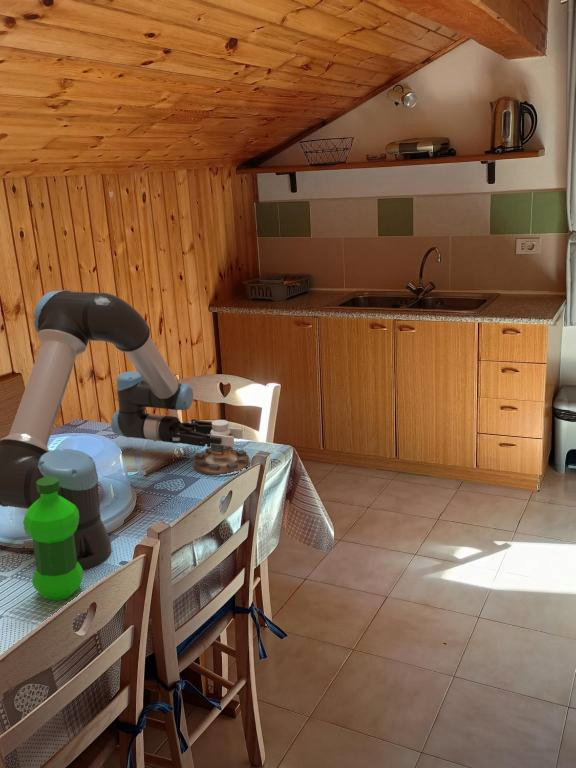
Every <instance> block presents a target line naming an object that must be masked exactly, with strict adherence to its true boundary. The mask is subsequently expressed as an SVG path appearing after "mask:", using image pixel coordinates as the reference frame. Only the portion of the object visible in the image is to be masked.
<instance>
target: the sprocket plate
mask: <svg viewBox="0 0 576 768" xmlns="http://www.w3.org/2000/svg"><path fill="white" fill-rule="evenodd" d="M233 447H234V446H233ZM233 447H232V446H231V455H230V456H229V457H227V458H214V457H213V456H212V455H211V447H207V448H205V451H204V452H197V453H196V454H195V455H194V458H193V461H192V462H193V463H192V465H193V469H194V471H196V472H197V473H199V474H201V475H204V474H205V475H204V476H208V475H220V474H227V473H231V472H234V471H239V470H240V471H242V470H241V469H243V468H247V466H248V465H249V464H251V463H250V456H249V455H248V454H247V451H245V450H243V449H239V450H237V449H234V448H233ZM249 466H250V465H249ZM247 469H248V468H247Z"/></svg>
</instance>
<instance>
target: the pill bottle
mask: <svg viewBox="0 0 576 768" xmlns="http://www.w3.org/2000/svg"><path fill="white" fill-rule="evenodd" d="M211 422H212V428H213V429H212V430H211V432H210V434H209V435H210V437H211V434H217V435H225V436H231V432H230V430H229V429H228V427H229V421H228V420H225V419H216V420H213V421H211ZM210 444H211V443H210ZM231 447H232V446H224V445H216V444H211V446H210V448H211V455H212V456H213V457H214V458H227V457H229V456H230V455H231Z"/></svg>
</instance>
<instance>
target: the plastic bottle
mask: <svg viewBox="0 0 576 768" xmlns="http://www.w3.org/2000/svg"><path fill="white" fill-rule="evenodd" d="M36 487H37V492H38V493H40V496H41V497H40V498H39V499H38V500H37V501H35V502H34V503H33V504H32V505H31V506H30V507H29V508H28V509H27V510H26V512H25V516H24V519H23V521H22V522H23V529H24V531H25V534H26V535H28V536H29V537H30V538H31V539H32V546H33V553H34V562H35V571H34V574H33V576H32V579H31V580H32V581H31V582H32V586H33V588H34V589H35V591H37V592H38V594H40V595H41V596H42V597H44V598H46V599H49V600H50V601H57V602H59V601H63V600H66V599H68V598H69V597H71V596H72V595H73V594H74V593H75V592H76V591H77V590H78V589H79V588H80V586H81V583H82V580H83V576H84V575H83V574H84V569H82V567H81V565H80V564H79V563H78V561H77V557H76V547H75V537H74V532H75V531H76V530H77V526H78V523H79V511H78V509H77V507H76V506H75V505H74V504H73V503H71V502H70V501H68V500H66V499H65V498H63V497H61V496H59V495H58V492H57V491H58V490H59V488H60V484H59V479H58V478H57V477H50V476H49V477H43V478H41V479H39V480H37V482H36Z"/></svg>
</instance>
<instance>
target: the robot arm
mask: <svg viewBox="0 0 576 768" xmlns="http://www.w3.org/2000/svg"><path fill="white" fill-rule="evenodd" d="M33 317H34V318H35V319H34V321H33V326H34V329H35V331H36V333H37V338H38V340H39V342H40V347H39V349H38V352H37V354H36V358H35V360H34V363H33V366H32V368H31V372H30V373H29V374H30V375H29V378H28V381H27V383H26V386H25V388H24V392H23V395H22V398H21V400H20V402H19V406H18V408H17V412H16V414H15V417H14V420H13V423H12V425H11V428H10V430H9V434H8V435H7V436H6V435H5V436H4V437H2V438H0V506H1V507H5V508H6V507H11V508H20V509H27V510H28V508H29V507H30V506H31V505H32V504H33V503H34V502H35V501H37V500H38V499H39V498H40V497H41V496H40V493H38V492H37V487H36V482H37V480H39V479H41V478H43V477H49V476H50V477H57V478H58V479H59V484H60V488H59V490H58V491H57V492H58V495H59V496H61V497H63V498H65V499H66V500H68V501H70V502H71V503H73V504H74V505H75V506H76V507H77V509H78V511H79V523H78V526H77V530H76V531H75V532H74V537H75V547H76V557H77V561H78V563H79V564H80V565H81V567H82V569H83V570H86V569H90V568H93V567H94V566H97V565H100V564H101V563H102V562H104V561H105V560H107V559H108V558H109V557H110V555H111V553H112V541H111V540H112V539H111V537H110V535H109V532H108V531H107V529H106V527H105V525H104V522H103V521H102V518H101V508H100V507H101V506H100V505H101V504H100V496H99V495H100V494H99V475H98V473H97V468H96V461H94V459H93V457H92V456H90V455H89V454H88V453H87V452H84V451H81V450H76V449H71V448H63V449H62V450H61V449H53V450H50V449H49V448H48V445H49V444H48V443H49V440H50V438H51V434H52V431H53V428H54V426H55V423H56V419H57V417H58V414H59V410H60V407H61V404H62V401H63V398H64V396H65V392H66V391H67V387H68V384H69V380H70V377H71V374H72V371H73V369H74V366H75V363H76V359H77V357H78V356H79V355H81V354H84V353H85V351H86V350H87V347H88V344H89V341H97V342H106V343H107V342H108V343H110V344H112V345H114V347H115V348H116V349H117V350H118V351H120V352H123V353H124V354H125V355H126V357H127V358H128V359H129V361H130V362H131V364H132V365H133V366H134V368H135V369H136V370H132V371H131V370H130V371H125V372H121V373H120V374H118V375H117V377H116V392H117V400H118V401H117V402H118V410H116V411H115V412H114V413H113V415H112V417H111V422H110V427H111V431H112V432H113V434H115V435H116V436H121V437H124V438H128V439H129V438H132V439H143V440H150V441H153V442H157V441H158V442H164V443H171V444H182V445H189V446H197V447H203V448H204V447H207V448H211V444H216V445H224V446H231V447H235V439H243V428H239V427H231V426H228V429H229V430H230V432H231V436H225V435H217V434H211V437H210V432H211V430H212V429H213V428H212V422H213V421H205V420H199V419H194V418H193V419H191V421H190V422H188V421H186V422H181V420H180V419H179V418H178V417H177V416H173V415H172V416H171V415H164V414H158V413H157V414H155V413H147V412H146V408H153V409H164V410H172V411H173V410H174V411H187V410H189V409H190V408H191V406H192V404H193V401H194V389H193V387H192V386H191V385H190V384H189V383H188V384H187V383H183V382H182V383H180V382H179V381H178V379H177V377H176V376H175V375H174V372H172V369H171V368H170V366H169V365H168V363H167V362H166V360H165V358H164V356H163V355H162V354H161V352H160V350H159V349H158V347H157V346H156V344H155V342H154V341H153V339H152V337H151V328H150V327H149V325H148V322H147V321H146V320H145V318H144V317H143V316H142V314H141V313H140V312H138V311H137V309H135V308H134V307H133V306H132V305H131V304H129V303H128V302H127V301H125V300H123V299H122V298H120V297H119V296H117V295H114V294H111V293H107V292H92V291H91V292H89V291H71V290H68V289H63V290H53V291H52V290H51V291H50V292H49V291H48V292H47V293H45V294H44V295H43V296H42V297H40V299H39V300H38V301H37V304H36V306H35V309H34V313H33Z"/></svg>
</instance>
